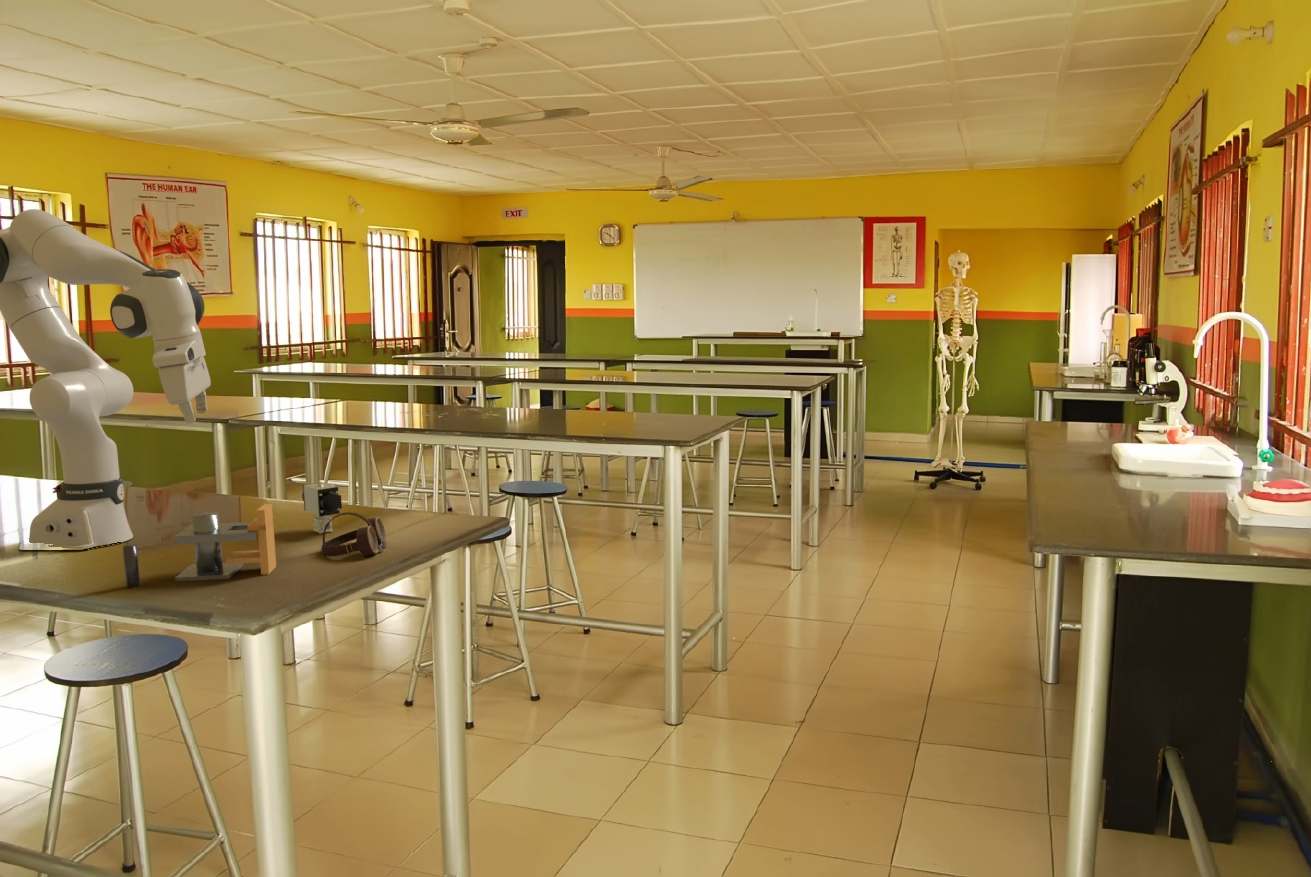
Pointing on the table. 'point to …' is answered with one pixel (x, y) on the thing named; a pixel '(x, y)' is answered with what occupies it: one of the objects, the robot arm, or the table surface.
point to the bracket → (260, 542)
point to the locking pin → (131, 565)
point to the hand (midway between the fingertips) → (197, 417)
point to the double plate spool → (211, 546)
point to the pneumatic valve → (321, 504)
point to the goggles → (357, 539)
